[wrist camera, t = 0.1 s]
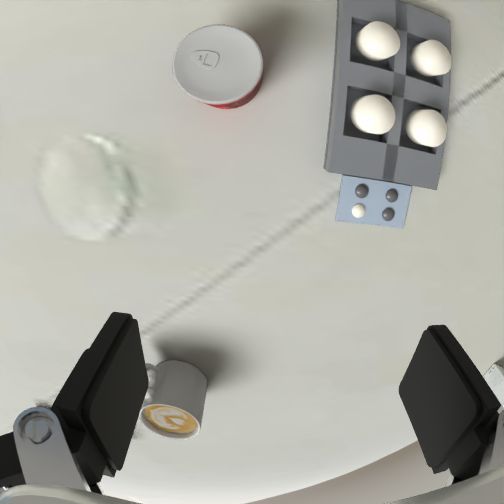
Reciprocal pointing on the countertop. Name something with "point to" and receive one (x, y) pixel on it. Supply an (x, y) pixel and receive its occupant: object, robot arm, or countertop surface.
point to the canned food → (219, 66)
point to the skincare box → (496, 381)
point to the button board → (403, 100)
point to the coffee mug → (174, 400)
